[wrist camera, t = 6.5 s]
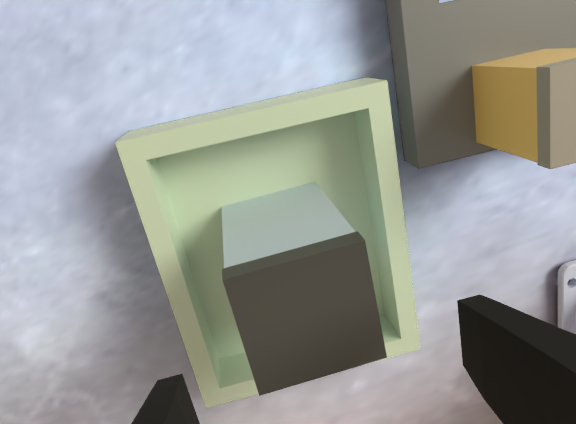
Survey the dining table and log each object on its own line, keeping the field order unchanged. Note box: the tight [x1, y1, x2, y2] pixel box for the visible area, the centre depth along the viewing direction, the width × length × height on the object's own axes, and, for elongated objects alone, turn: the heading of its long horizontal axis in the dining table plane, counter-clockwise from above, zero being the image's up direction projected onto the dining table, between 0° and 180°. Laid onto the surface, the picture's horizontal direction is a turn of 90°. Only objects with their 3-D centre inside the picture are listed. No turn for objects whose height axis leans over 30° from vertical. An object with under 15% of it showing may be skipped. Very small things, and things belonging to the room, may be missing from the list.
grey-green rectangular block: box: [222, 182, 387, 396], centre depth 16 cm, size 4×4×7 cm
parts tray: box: [115, 77, 421, 408], centre depth 19 cm, size 12×10×2 cm
